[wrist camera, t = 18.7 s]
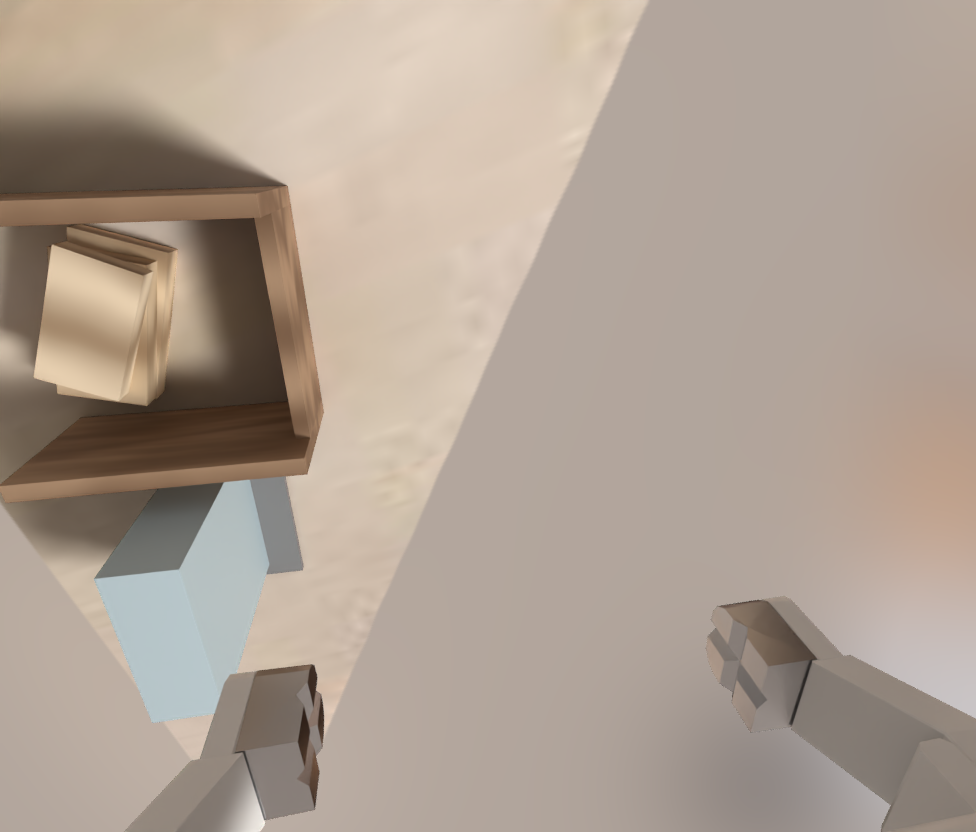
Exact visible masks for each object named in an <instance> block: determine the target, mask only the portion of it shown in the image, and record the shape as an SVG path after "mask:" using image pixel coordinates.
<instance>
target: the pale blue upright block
mask: <svg viewBox="0 0 976 832" xmlns="http://www.w3.org/2000/svg"><path fill="white" fill-rule="evenodd" d="M268 567H269V561H268V556H267V552H266V548H265V543H264V539H263V535H262V530H261V526H260V522H259V517H258V513H257V509H256V505H255V500H254V496H253V492H252V487H251V483H250V480H241V481H231V482H221V483H210V484H200V485H189V486H179V487H168V488H158V489H157V491H156V492H155V493H154V495H153V496H152V498H151V499H150V501H149V502H148V503H147V505H146V506H145V508H144V509H143V510H142V512H141V513H140V515H139V516H138V517H137V519H136V520H135V522H134V523H133V525H132V526H131V527H130V529H129V530H128V532H127V533H126V534H125V536H124V537H123V539H122V540H121V541H120V543H119V544H118V546H117V547H116V548H115V550H114V551H113V553H112V554H111V556H110V557H109V558H108V560H107V561H106V563H105V564H104V565H103V567H102V568H101V570H100V571H99V572H98V574H97V575H96V577H95V578H94V581H95V583H96V586H97V588H98V591H99V593H100V596H101V598H102V600H103V603H104V605H105V608H106V610H107V613H108V615H109V618H110V620H111V623H112V625H113V628H114V630H115V632H116V635H117V637H118V640H119V642H120V645H121V647H122V650H123V652H124V655H125V657H126V660H127V662H128V664H129V667H130V669H131V672H132V674H133V677H134V679H135V682H136V684H137V687H138V689H139V692H140V694H141V696H142V699H143V701H144V704H145V706H146V709H147V711H148V714H149V716H150V719H151V721H152V723H156V722H163V721H169V720H176V719H183V718H190V717H197V716H203V715H210V714H214V713H215V710H216V707H217V704H218V701H219V698H220V695H221V692H222V689H223V685H224V683H225V681H226V680H227V678H228V677H229V675H230V674H237V670H238V667H239V664H240V660H241V657H242V654H243V650H244V647H245V644H246V640H247V637H248V634H249V630H250V627H251V624H252V620H253V617H254V614H255V610H256V607H257V604H258V600H259V597H260V594H261V590H262V587H263V584H264V580H265V577H266V574H267V570H268Z"/></svg>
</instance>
